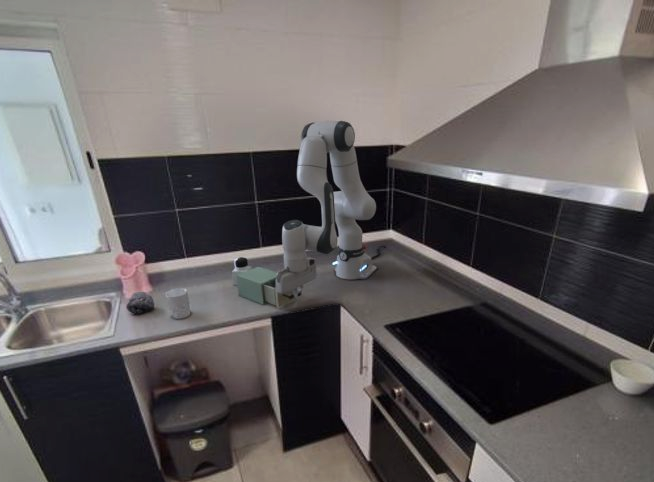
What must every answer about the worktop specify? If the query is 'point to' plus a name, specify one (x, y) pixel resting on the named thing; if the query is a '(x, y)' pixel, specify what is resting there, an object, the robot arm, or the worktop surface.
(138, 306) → the pumice stone
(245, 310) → the worktop surface
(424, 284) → the worktop surface
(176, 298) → the white cup
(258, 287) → the drawer cabinet
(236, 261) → the astronaut figurine
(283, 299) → the drawer with handle
